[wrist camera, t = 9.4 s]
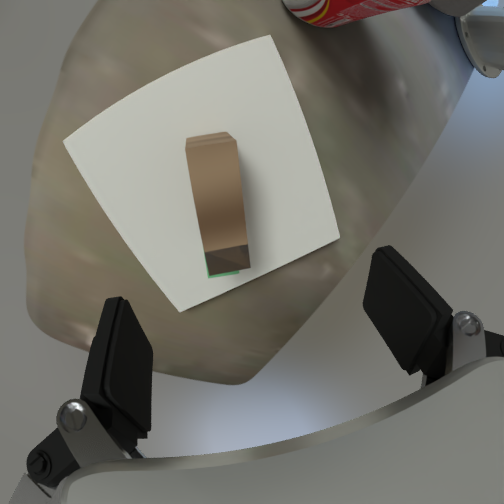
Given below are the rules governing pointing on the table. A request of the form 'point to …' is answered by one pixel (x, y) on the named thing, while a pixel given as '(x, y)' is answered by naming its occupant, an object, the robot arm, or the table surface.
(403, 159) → the table surface
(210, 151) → the brown wooden block
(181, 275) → the white flat sheet
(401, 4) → the soda can
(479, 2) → the coffee pot
